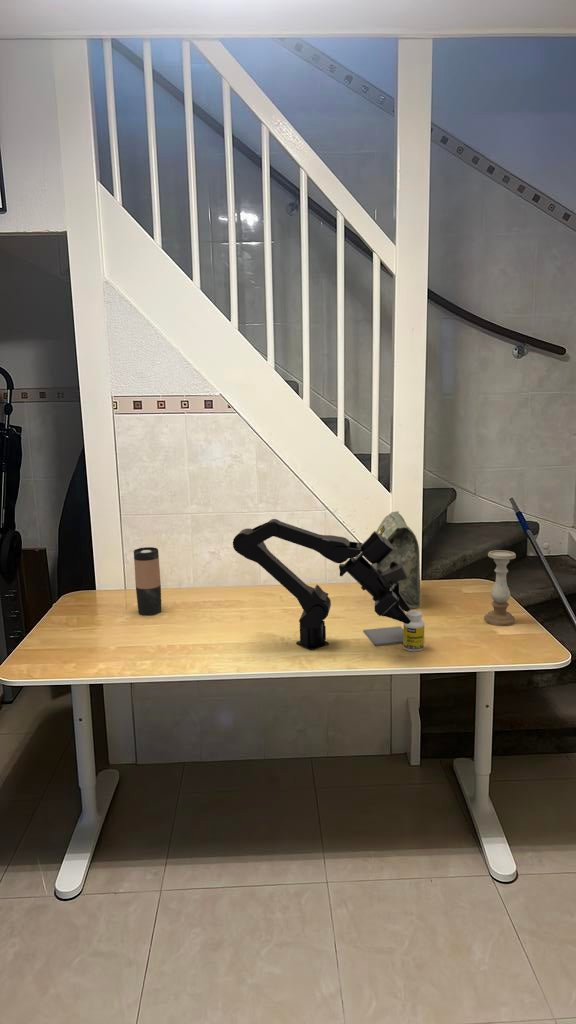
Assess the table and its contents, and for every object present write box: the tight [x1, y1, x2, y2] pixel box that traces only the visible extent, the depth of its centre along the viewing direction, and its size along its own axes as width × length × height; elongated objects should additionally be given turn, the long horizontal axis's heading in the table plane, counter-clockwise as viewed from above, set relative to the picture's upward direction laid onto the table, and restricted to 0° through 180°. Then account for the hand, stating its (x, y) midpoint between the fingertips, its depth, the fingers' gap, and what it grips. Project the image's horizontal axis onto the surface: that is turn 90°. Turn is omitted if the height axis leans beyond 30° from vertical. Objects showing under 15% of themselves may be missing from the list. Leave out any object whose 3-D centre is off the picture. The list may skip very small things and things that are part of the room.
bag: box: [370, 510, 421, 609], centre depth 221 cm, size 22×16×27 cm
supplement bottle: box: [402, 610, 425, 652], centre depth 181 cm, size 5×5×10 cm
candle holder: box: [483, 549, 517, 627], centre depth 199 cm, size 9×9×20 cm
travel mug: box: [133, 546, 162, 617], centre depth 215 cm, size 8×8×20 cm
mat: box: [363, 625, 404, 647], centre depth 190 cm, size 11×11×1 cm
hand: (409, 616), depth 181 cm, fingers open, 9 cm apart
